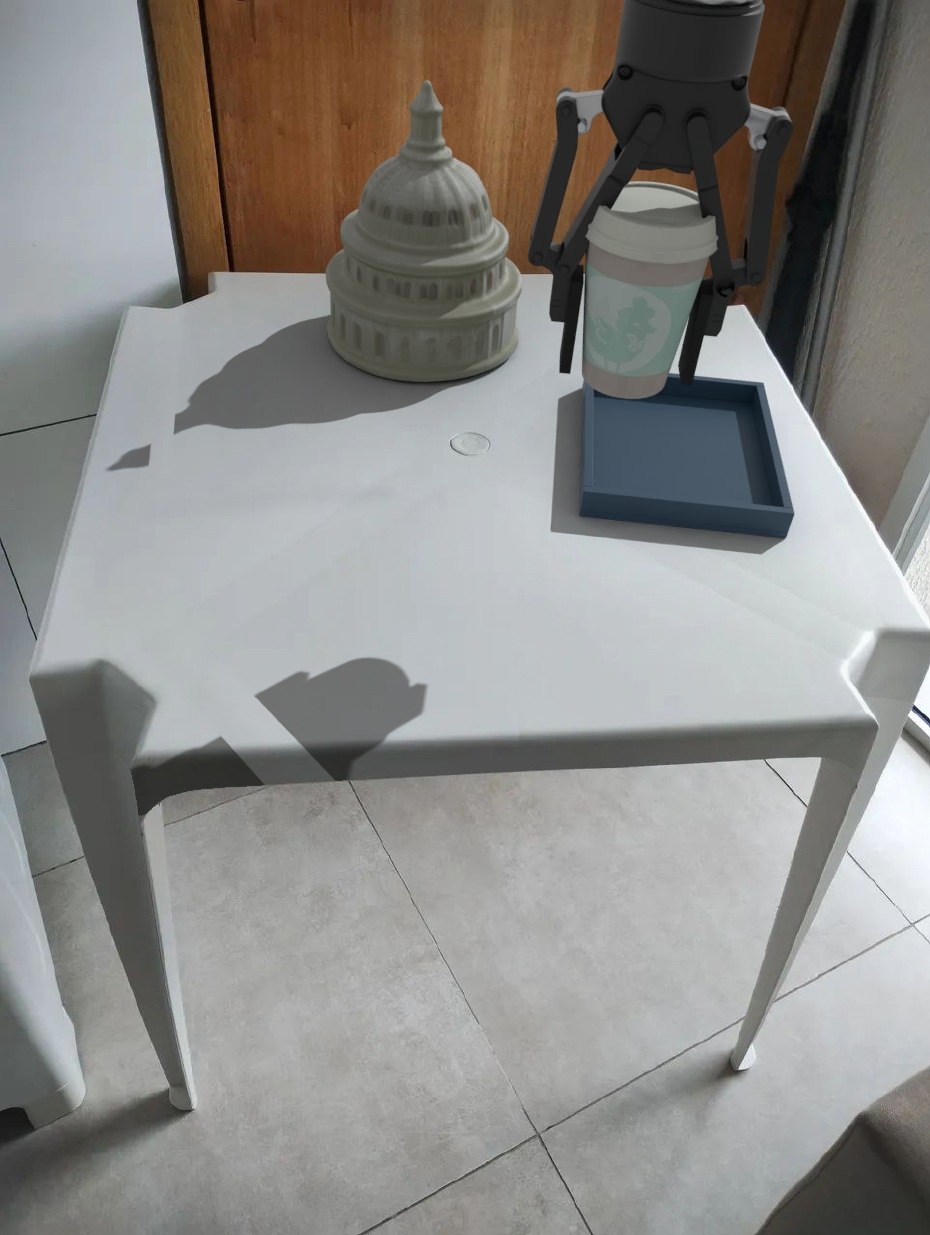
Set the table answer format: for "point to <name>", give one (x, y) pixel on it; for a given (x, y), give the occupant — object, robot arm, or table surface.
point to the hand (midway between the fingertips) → (624, 369)
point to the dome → (423, 266)
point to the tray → (685, 458)
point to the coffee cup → (641, 286)
